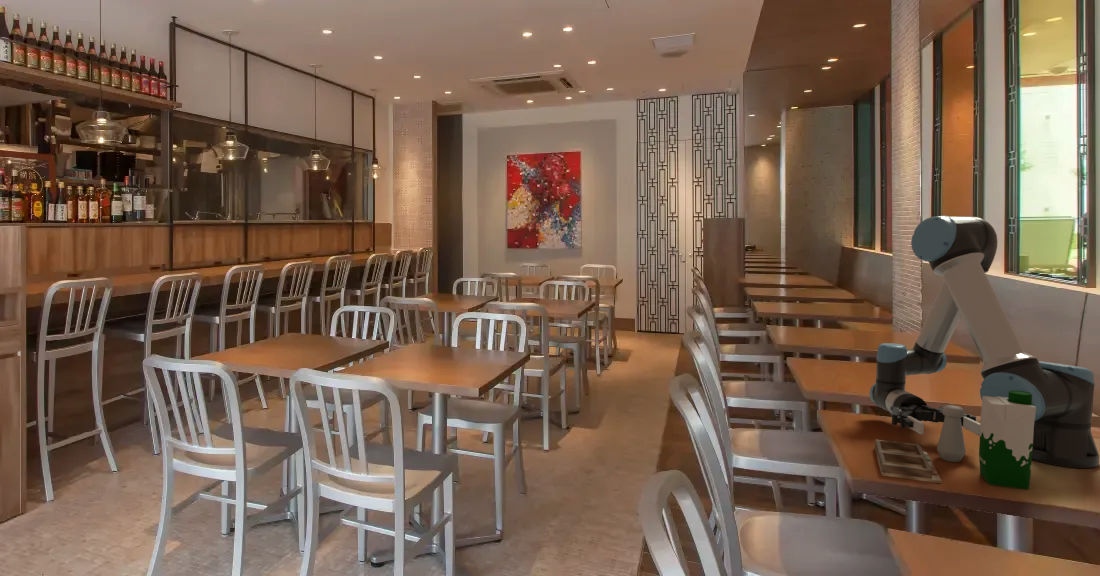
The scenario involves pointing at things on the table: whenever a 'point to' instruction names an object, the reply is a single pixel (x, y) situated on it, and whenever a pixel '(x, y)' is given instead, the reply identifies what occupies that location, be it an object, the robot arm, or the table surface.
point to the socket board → (905, 461)
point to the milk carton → (1007, 439)
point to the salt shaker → (952, 435)
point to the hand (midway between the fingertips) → (951, 429)
